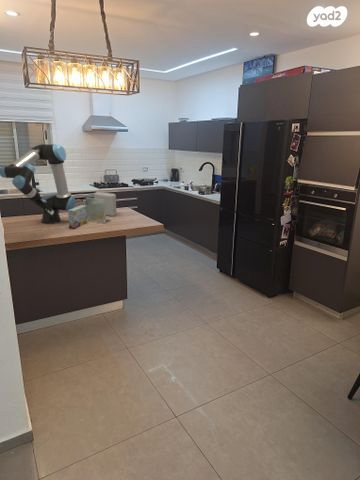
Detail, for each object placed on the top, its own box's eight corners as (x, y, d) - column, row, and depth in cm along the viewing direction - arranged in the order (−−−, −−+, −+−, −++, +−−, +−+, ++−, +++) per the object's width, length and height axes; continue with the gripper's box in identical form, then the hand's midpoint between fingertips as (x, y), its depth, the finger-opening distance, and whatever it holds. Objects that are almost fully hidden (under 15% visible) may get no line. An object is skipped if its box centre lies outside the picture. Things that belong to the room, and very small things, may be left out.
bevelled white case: (118, 215, 306) (117, 193, 300) (112, 216, 299) (112, 195, 293) (99, 212, 314) (98, 191, 308) (94, 214, 307) (93, 192, 301)
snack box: (75, 229, 258) (73, 210, 254) (68, 228, 259) (67, 210, 255) (87, 222, 278) (86, 205, 273) (81, 222, 279) (80, 204, 274)
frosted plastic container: (87, 220, 284) (85, 197, 278) (93, 218, 292) (92, 196, 286) (104, 223, 277) (103, 199, 271) (110, 220, 285) (109, 198, 279)
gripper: (22, 197, 221) (43, 216, 241) (36, 199, 217) (57, 218, 236) (27, 188, 224) (48, 208, 244) (41, 190, 220) (61, 209, 239)
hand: (52, 213), depth 240 cm, fingers closed
